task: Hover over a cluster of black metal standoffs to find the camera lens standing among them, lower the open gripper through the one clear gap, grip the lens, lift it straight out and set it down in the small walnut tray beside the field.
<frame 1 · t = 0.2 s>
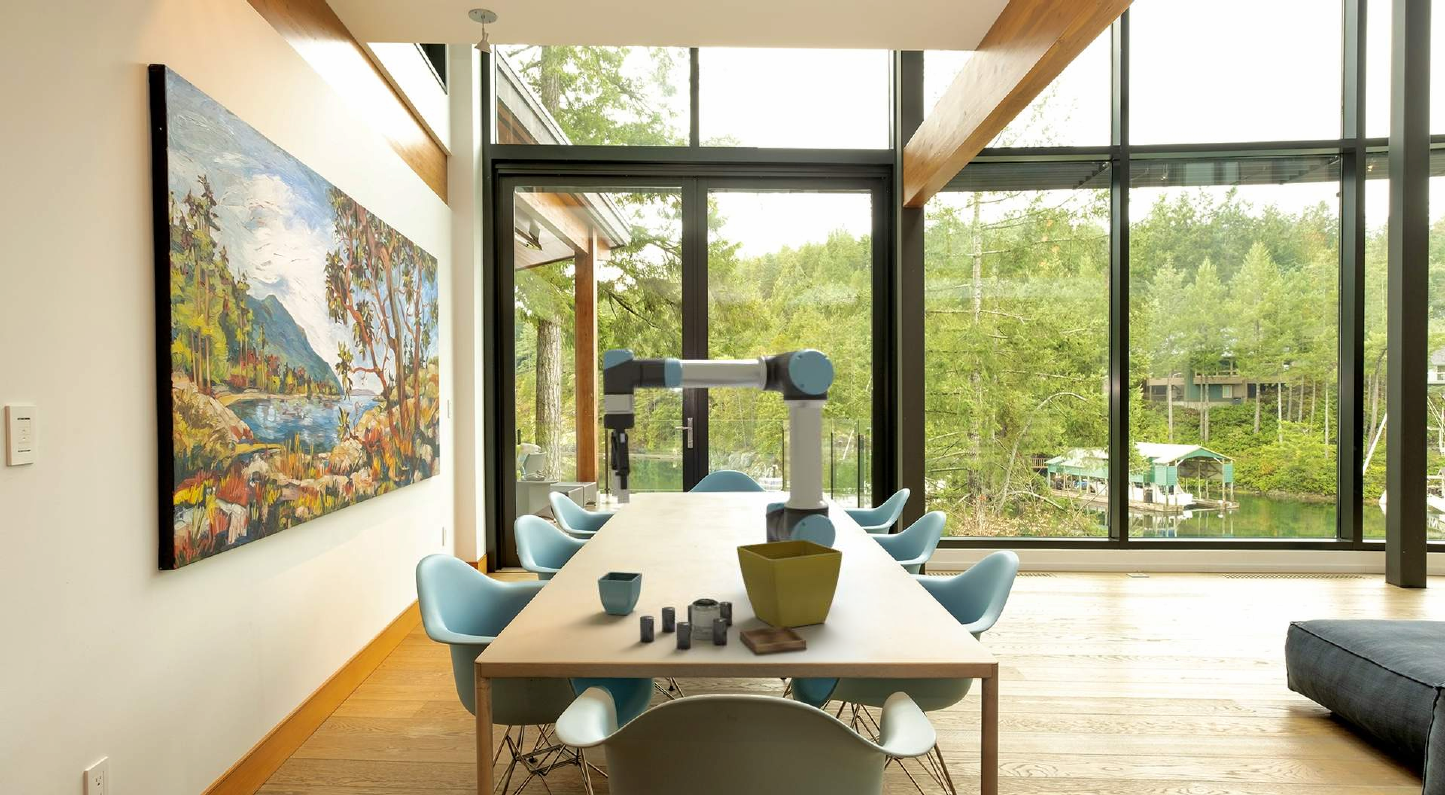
hand: (620, 499, 193), 28 cm above the table, fingers open, 13 cm apart
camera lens: (706, 637, 174), on the table
flower pot 2: (789, 620, 186), on the table
flower pot: (620, 613, 194), on the table
spacers: (706, 636, 174), on the table
tray: (772, 644, 168), on the table
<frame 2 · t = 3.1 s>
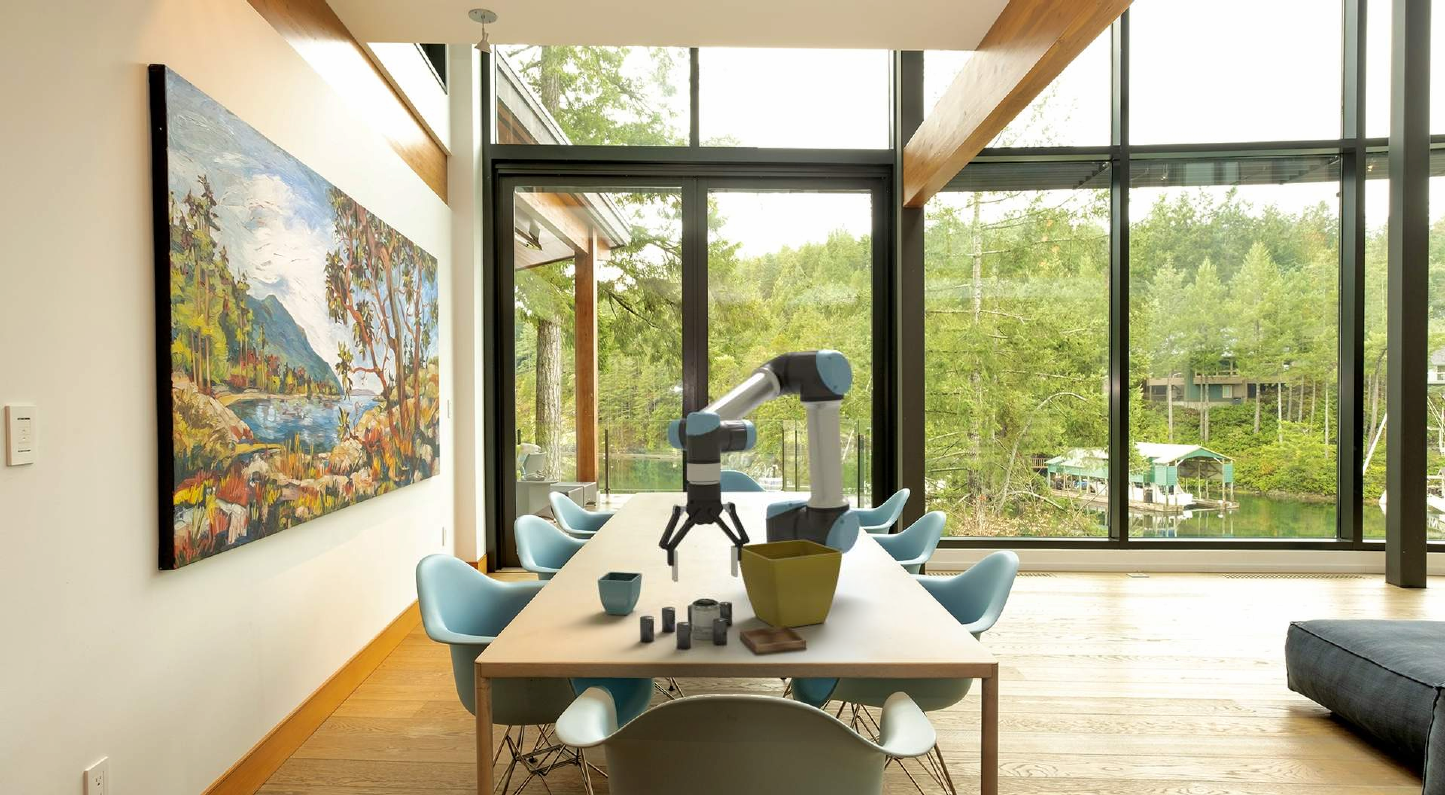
hand: (705, 578, 174), 13 cm above the table, fingers open, 13 cm apart
nothing on the table moved.
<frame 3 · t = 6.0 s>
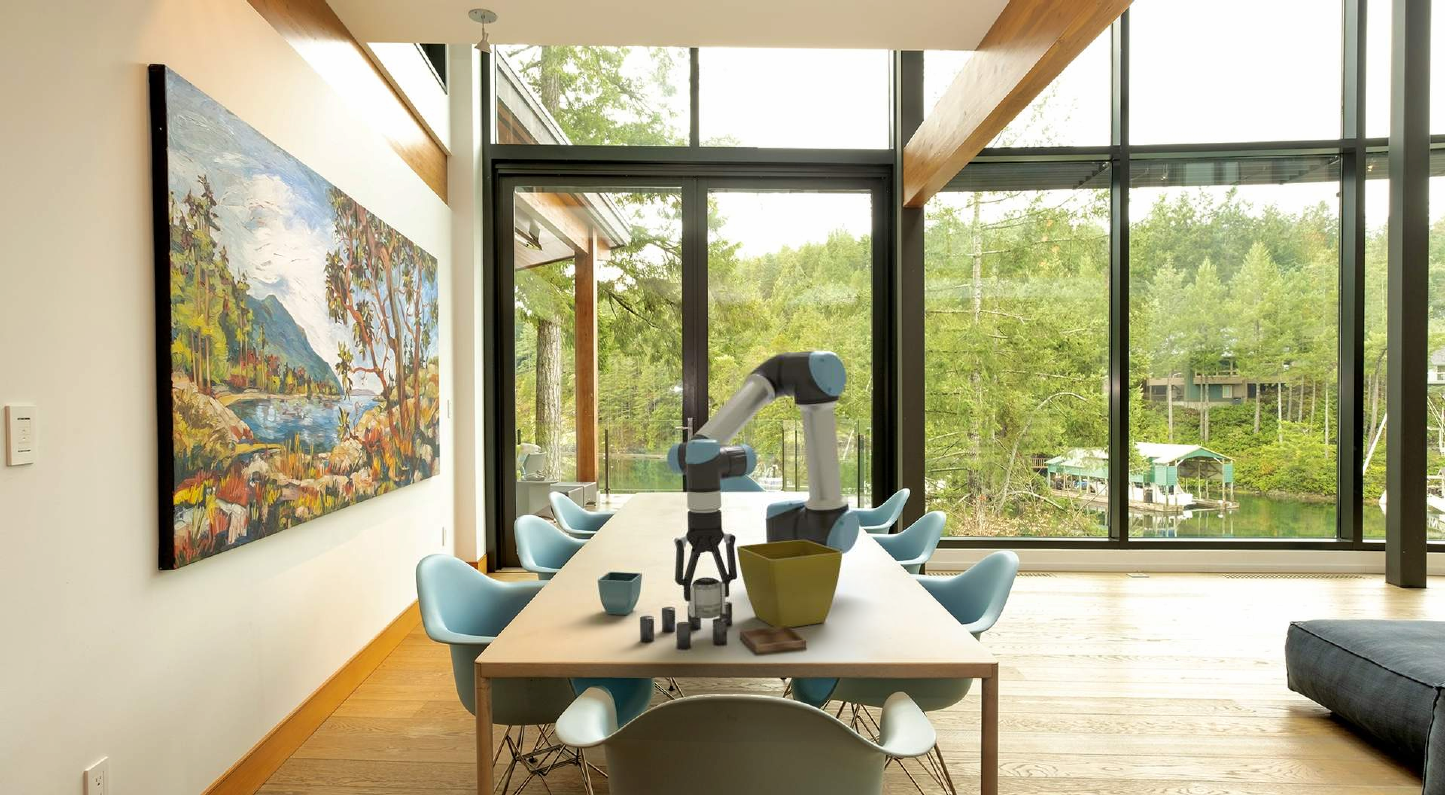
hand: (707, 613, 175), 5 cm above the table, fingers closed on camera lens, 6 cm apart
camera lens: (707, 615, 175), point 4 cm above the table, touching gripper
everything else where it was.
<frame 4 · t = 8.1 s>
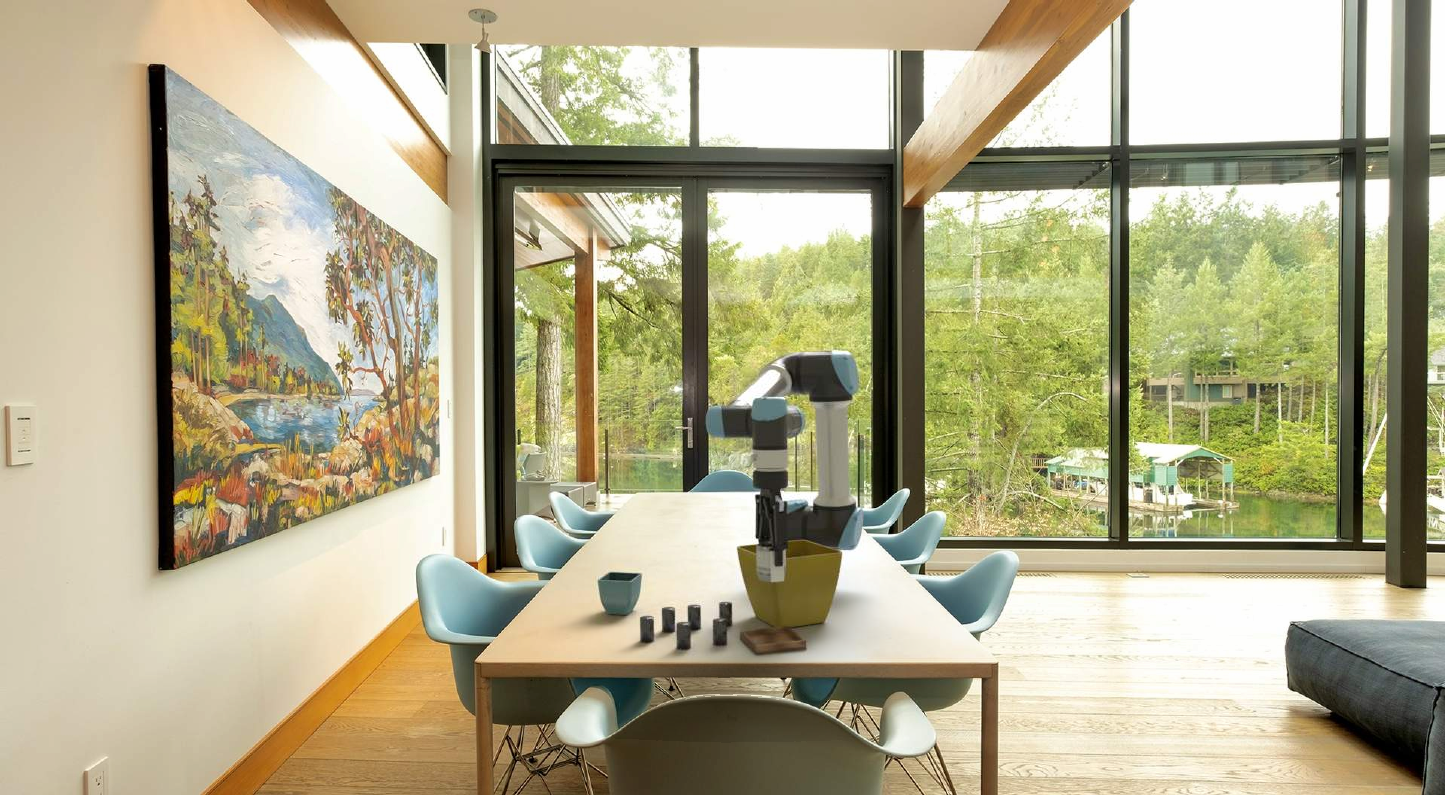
hand: (771, 577, 168), 14 cm above the table, fingers closed on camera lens, 6 cm apart
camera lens: (771, 579, 168), point 14 cm above the table, touching gripper
everything else where it was.
when the fingers open (2 cm above the table, at t = 10.6 s): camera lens stays where it is, resting on tray.
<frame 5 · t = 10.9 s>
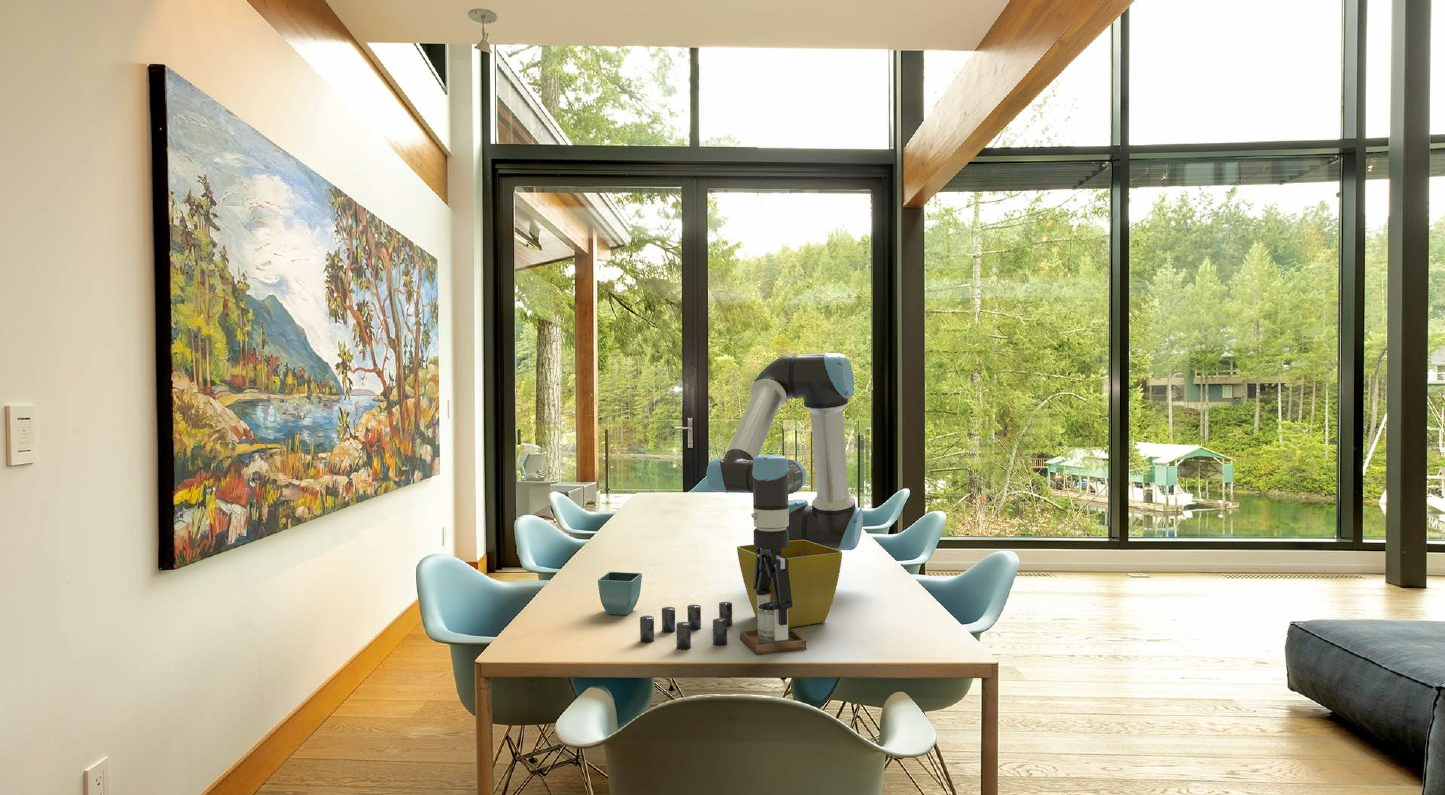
hand: (772, 632, 168), 3 cm above the table, fingers open, 10 cm apart
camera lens: (772, 642, 168), resting on tray
everything else where it was.
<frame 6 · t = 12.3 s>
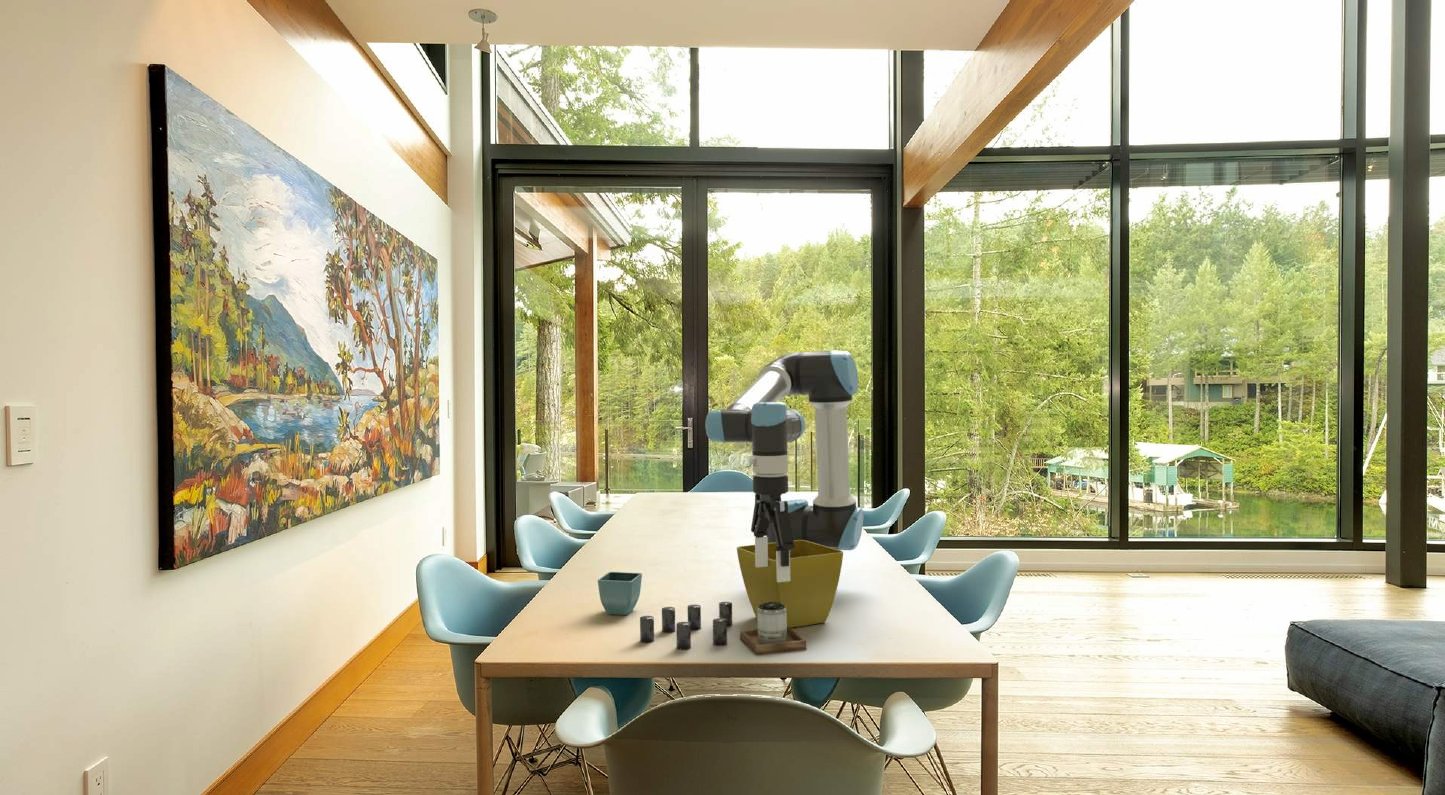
hand: (772, 573, 168), 15 cm above the table, fingers open, 13 cm apart
nothing on the table moved.
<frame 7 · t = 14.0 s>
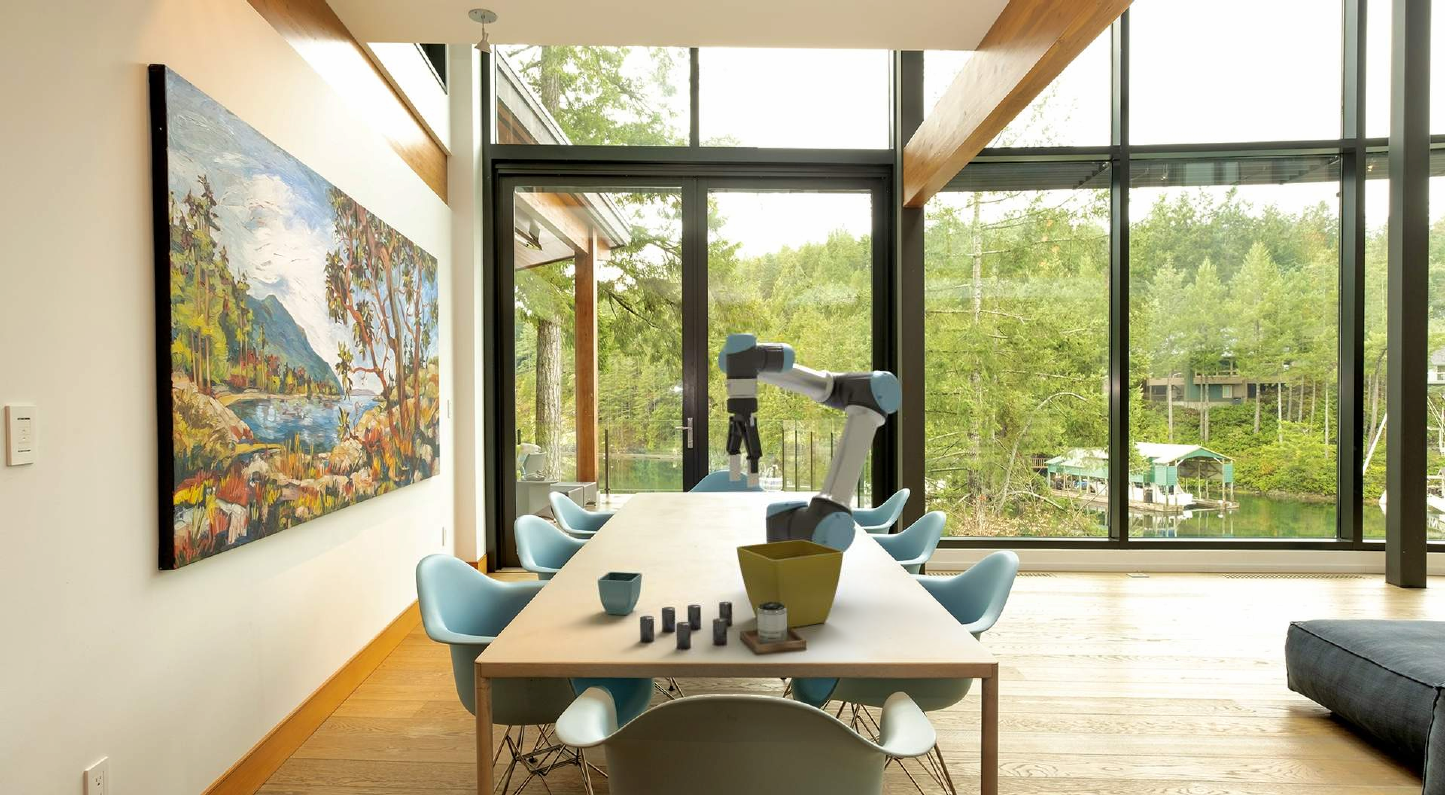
hand: (744, 483, 193), 31 cm above the table, fingers open, 13 cm apart
nothing on the table moved.
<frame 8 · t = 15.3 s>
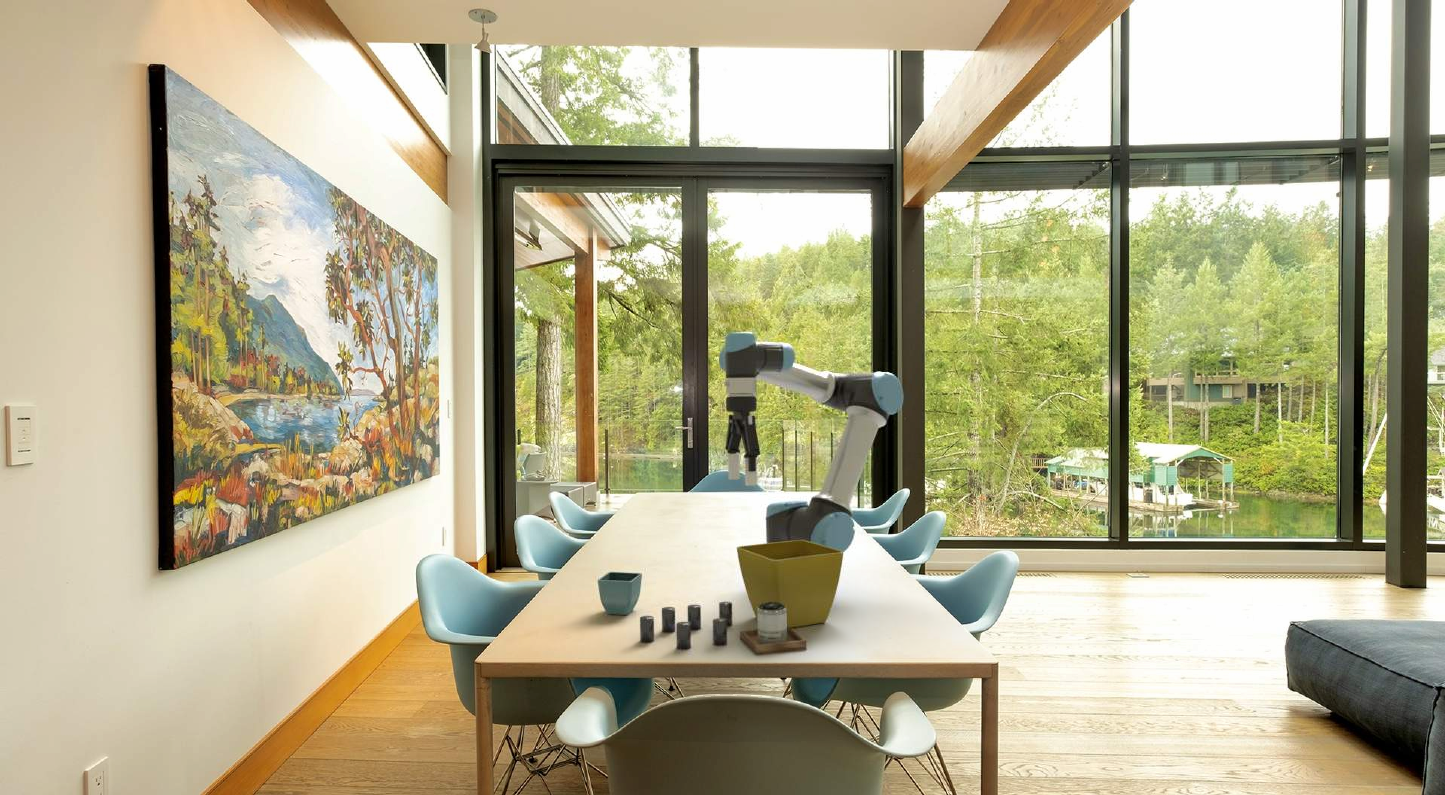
hand: (742, 482, 193), 32 cm above the table, fingers open, 13 cm apart
nothing on the table moved.
at the end: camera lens inside the target area on the tray (0.1 cm from its centre), point 0.4 cm above the tray's base; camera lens tilted 0°; the gripper is holding nothing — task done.
